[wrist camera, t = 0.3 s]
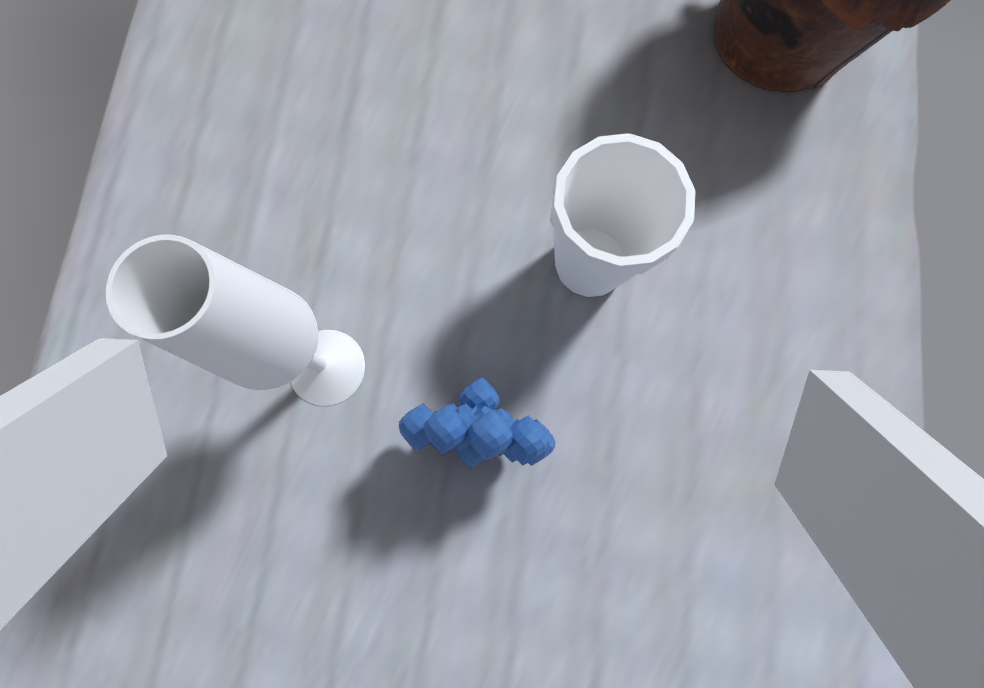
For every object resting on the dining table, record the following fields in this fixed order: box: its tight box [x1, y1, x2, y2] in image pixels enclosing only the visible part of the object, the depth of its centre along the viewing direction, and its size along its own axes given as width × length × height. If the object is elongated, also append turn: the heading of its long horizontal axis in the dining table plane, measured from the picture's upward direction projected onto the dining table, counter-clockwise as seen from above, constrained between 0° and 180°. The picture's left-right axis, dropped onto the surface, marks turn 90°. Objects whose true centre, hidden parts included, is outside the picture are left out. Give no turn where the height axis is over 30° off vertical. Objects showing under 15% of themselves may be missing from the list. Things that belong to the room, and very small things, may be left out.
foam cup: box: [550, 133, 695, 297], centre depth 43 cm, size 10×9×13 cm
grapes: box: [399, 377, 555, 468], centre depth 40 cm, size 12×7×12 cm, turn 83°
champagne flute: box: [106, 235, 365, 406], centre depth 35 cm, size 7×7×24 cm
